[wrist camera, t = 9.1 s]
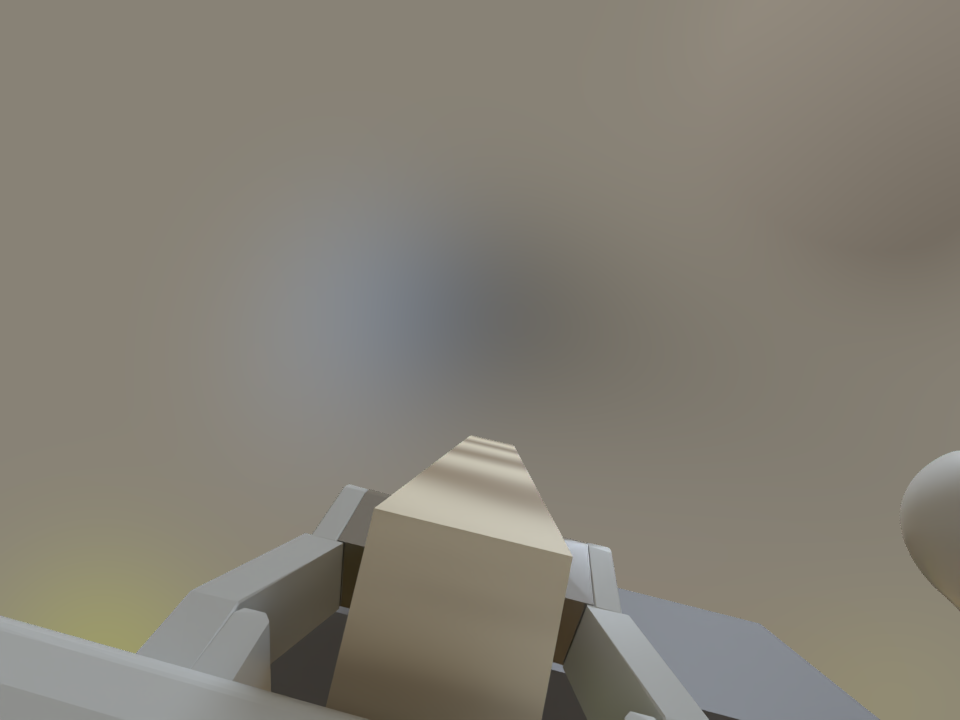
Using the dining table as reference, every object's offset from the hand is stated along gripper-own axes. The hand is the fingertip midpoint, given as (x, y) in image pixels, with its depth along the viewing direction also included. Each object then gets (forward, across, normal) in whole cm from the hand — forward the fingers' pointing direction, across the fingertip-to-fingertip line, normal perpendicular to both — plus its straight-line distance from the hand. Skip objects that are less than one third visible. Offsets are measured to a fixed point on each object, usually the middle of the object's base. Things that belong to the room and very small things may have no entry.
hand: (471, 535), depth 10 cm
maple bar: (+6, 0, +6) cm, 8 cm away
